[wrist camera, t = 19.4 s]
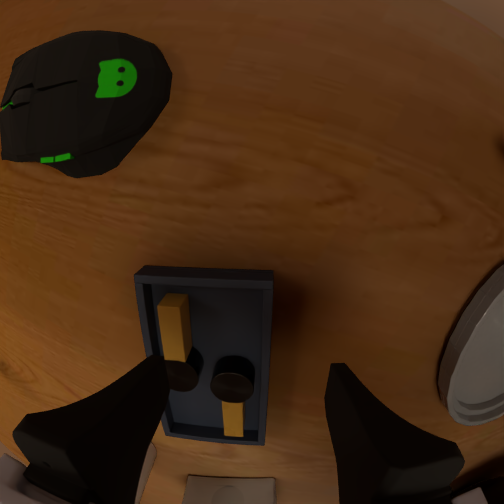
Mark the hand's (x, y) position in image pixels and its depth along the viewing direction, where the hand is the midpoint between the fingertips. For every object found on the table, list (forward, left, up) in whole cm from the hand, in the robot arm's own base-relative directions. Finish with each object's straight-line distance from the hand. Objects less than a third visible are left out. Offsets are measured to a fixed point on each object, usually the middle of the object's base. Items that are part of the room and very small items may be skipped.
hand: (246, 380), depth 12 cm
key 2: (-4, +6, -9) cm, 11 cm away
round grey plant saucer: (-5, -26, -9) cm, 28 cm away
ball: (-43, -39, -10) cm, 59 cm away
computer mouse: (+14, +14, -10) cm, 22 cm away
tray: (-6, +4, -9) cm, 12 cm away
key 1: (-9, +2, -9) cm, 13 cm away
